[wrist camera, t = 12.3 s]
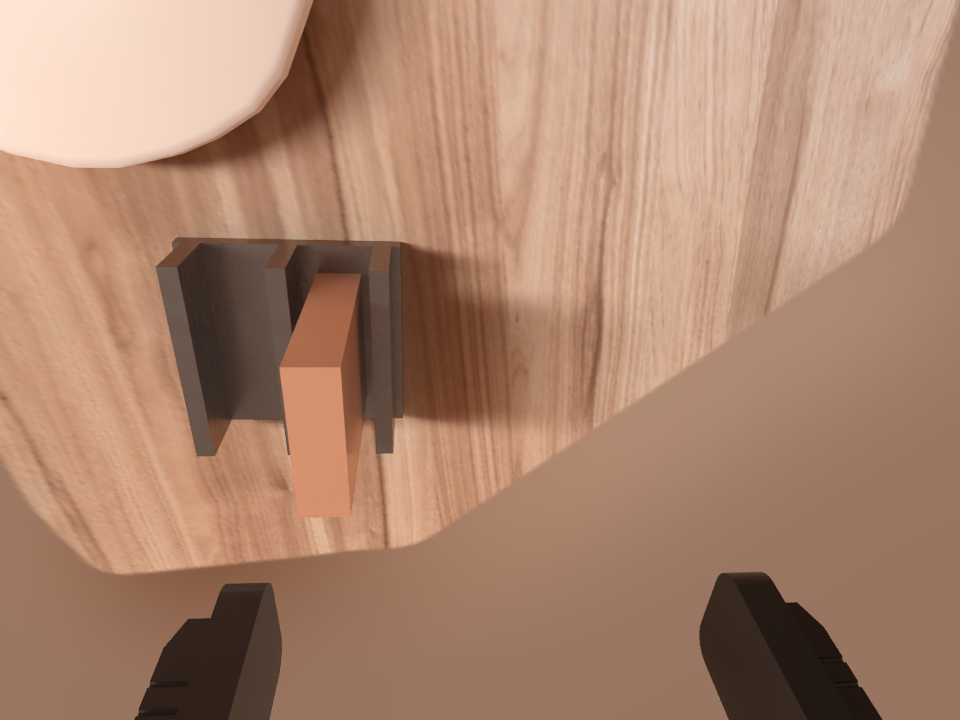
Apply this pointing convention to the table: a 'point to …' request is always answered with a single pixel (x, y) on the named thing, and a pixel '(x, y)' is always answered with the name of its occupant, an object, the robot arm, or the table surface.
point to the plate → (137, 74)
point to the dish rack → (272, 325)
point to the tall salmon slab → (326, 395)
